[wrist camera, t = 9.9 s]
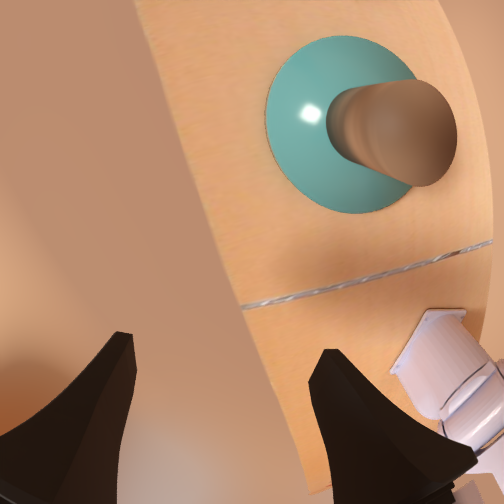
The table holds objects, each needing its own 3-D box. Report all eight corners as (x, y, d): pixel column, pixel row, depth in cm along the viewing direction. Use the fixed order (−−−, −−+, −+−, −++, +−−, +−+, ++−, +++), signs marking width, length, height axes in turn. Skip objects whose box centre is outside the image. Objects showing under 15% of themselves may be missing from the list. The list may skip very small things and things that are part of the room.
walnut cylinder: (383, 173, 17) (441, 198, 11) (317, 151, 16) (363, 168, 10) (401, 105, 15) (464, 108, 9) (335, 76, 14) (389, 60, 8)
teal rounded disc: (399, 221, 20) (407, 227, 19) (248, 191, 18) (249, 195, 17) (431, 80, 15) (441, 79, 14) (283, 18, 13) (287, 11, 12)
